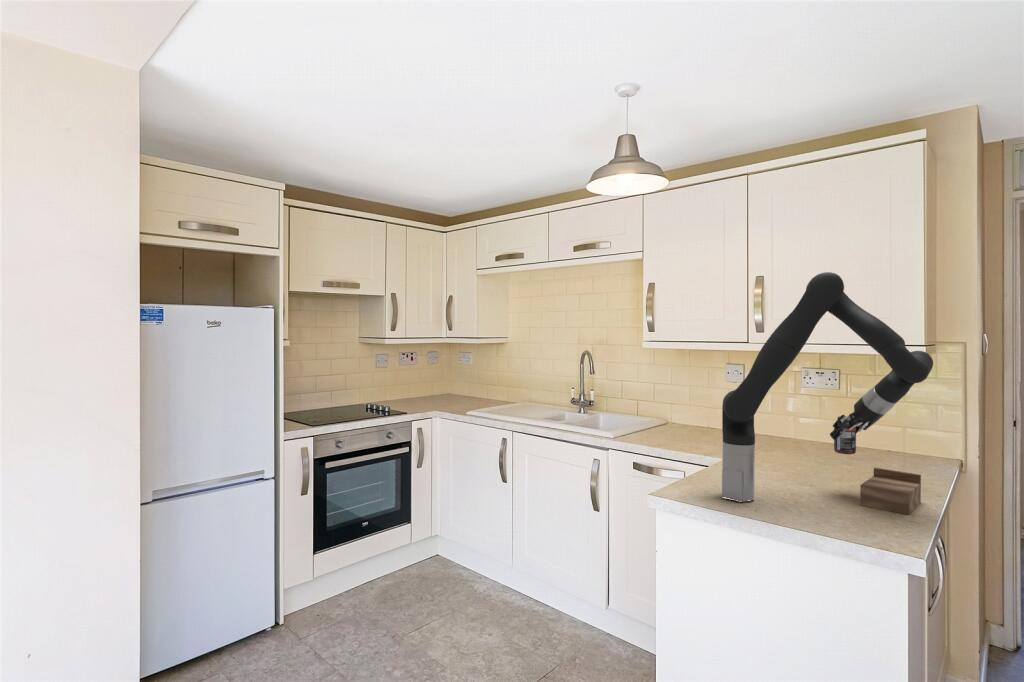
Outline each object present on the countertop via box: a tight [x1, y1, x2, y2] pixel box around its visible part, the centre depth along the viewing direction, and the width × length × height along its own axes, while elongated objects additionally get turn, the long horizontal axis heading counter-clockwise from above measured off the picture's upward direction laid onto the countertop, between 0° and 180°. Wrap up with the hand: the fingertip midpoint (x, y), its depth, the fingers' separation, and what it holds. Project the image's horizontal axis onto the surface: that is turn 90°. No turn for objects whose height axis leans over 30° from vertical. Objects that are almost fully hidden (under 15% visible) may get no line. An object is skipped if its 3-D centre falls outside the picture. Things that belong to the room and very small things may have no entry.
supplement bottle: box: [833, 415, 857, 455], centre depth 174 cm, size 6×6×11 cm
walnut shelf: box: [859, 467, 922, 516], centre depth 165 cm, size 16×12×8 cm
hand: (839, 436), depth 176 cm, fingers closed on supplement bottle, 6 cm apart
